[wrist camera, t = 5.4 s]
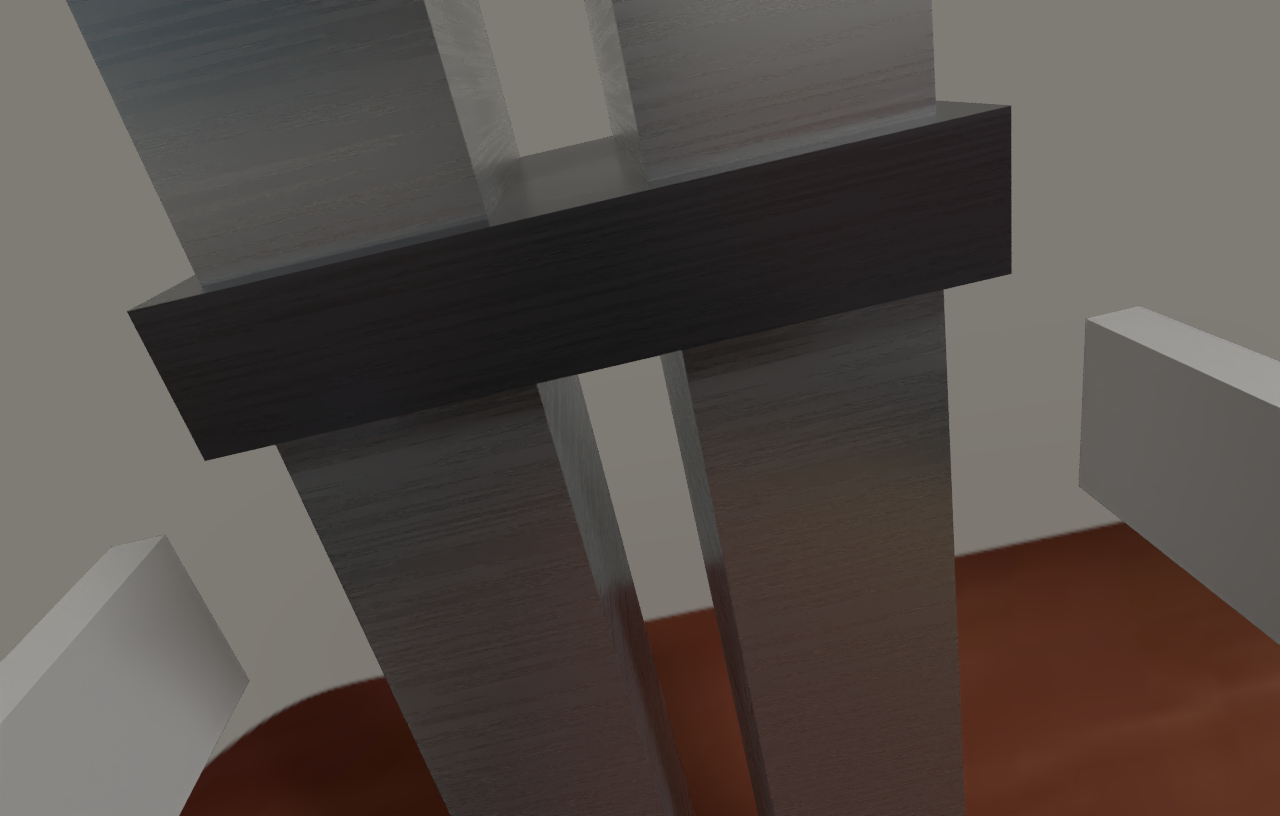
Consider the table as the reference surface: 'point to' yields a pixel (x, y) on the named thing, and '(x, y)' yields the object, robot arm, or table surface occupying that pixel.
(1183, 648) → the table surface
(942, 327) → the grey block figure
